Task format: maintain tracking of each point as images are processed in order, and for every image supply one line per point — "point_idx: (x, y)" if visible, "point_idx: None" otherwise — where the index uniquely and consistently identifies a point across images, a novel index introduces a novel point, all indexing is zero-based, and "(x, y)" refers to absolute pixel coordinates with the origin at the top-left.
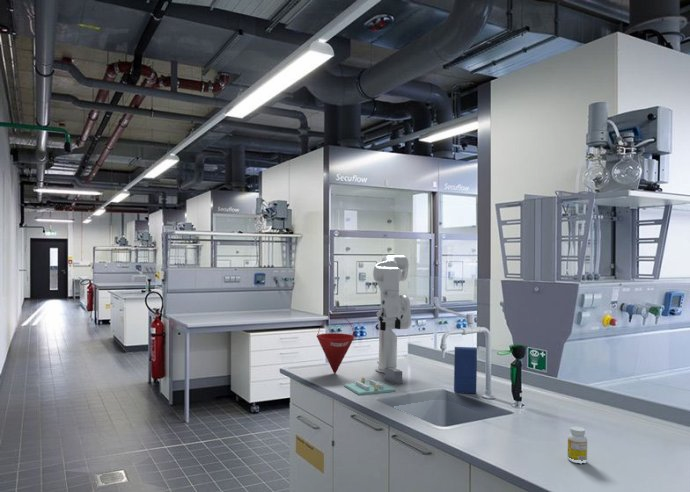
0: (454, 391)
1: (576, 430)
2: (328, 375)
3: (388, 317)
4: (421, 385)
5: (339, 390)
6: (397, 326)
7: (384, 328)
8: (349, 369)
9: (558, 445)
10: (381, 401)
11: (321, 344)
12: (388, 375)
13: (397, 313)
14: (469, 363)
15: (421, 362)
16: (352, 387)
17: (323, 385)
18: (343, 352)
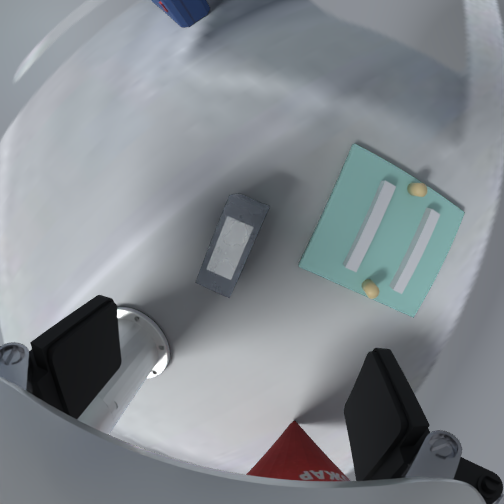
0: (202, 16)
1: None
2: (326, 418)
3: (439, 480)
4: (203, 128)
5: (453, 288)
6: (103, 342)
7: (394, 366)
8: (219, 422)
9: None
10: (462, 121)
11: None
12: (246, 259)
13: (4, 488)
14: None
15: (18, 315)
16: (433, 270)
17: (431, 354)
18: (301, 454)
